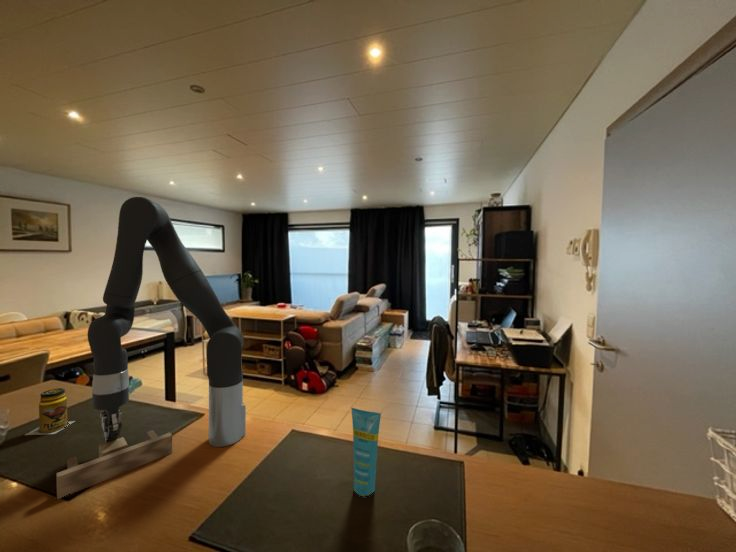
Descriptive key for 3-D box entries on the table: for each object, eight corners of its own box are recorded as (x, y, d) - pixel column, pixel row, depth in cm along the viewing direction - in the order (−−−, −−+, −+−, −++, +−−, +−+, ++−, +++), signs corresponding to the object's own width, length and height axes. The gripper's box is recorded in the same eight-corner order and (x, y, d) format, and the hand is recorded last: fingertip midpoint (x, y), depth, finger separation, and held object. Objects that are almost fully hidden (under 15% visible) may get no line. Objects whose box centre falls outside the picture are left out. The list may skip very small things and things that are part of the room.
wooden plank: (162, 440, 88) (162, 423, 88) (172, 452, 82) (172, 435, 82) (54, 480, 71) (54, 459, 71) (57, 499, 65) (57, 477, 65)
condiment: (55, 434, 90) (55, 395, 90) (23, 435, 89) (22, 396, 89) (75, 421, 98) (75, 385, 97) (46, 423, 96) (45, 386, 96)
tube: (346, 493, 68) (347, 411, 68) (353, 479, 73) (354, 402, 72) (377, 501, 66) (378, 417, 66) (382, 486, 71) (384, 407, 70)
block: (123, 455, 81) (123, 437, 81) (127, 463, 78) (127, 444, 77) (99, 464, 77) (98, 445, 77) (102, 473, 74) (102, 453, 74)
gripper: (134, 390, 79) (134, 454, 79) (123, 377, 88) (123, 435, 88) (96, 399, 73) (96, 468, 74) (88, 384, 82) (88, 446, 82)
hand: (111, 450), depth 81 cm, fingers closed
